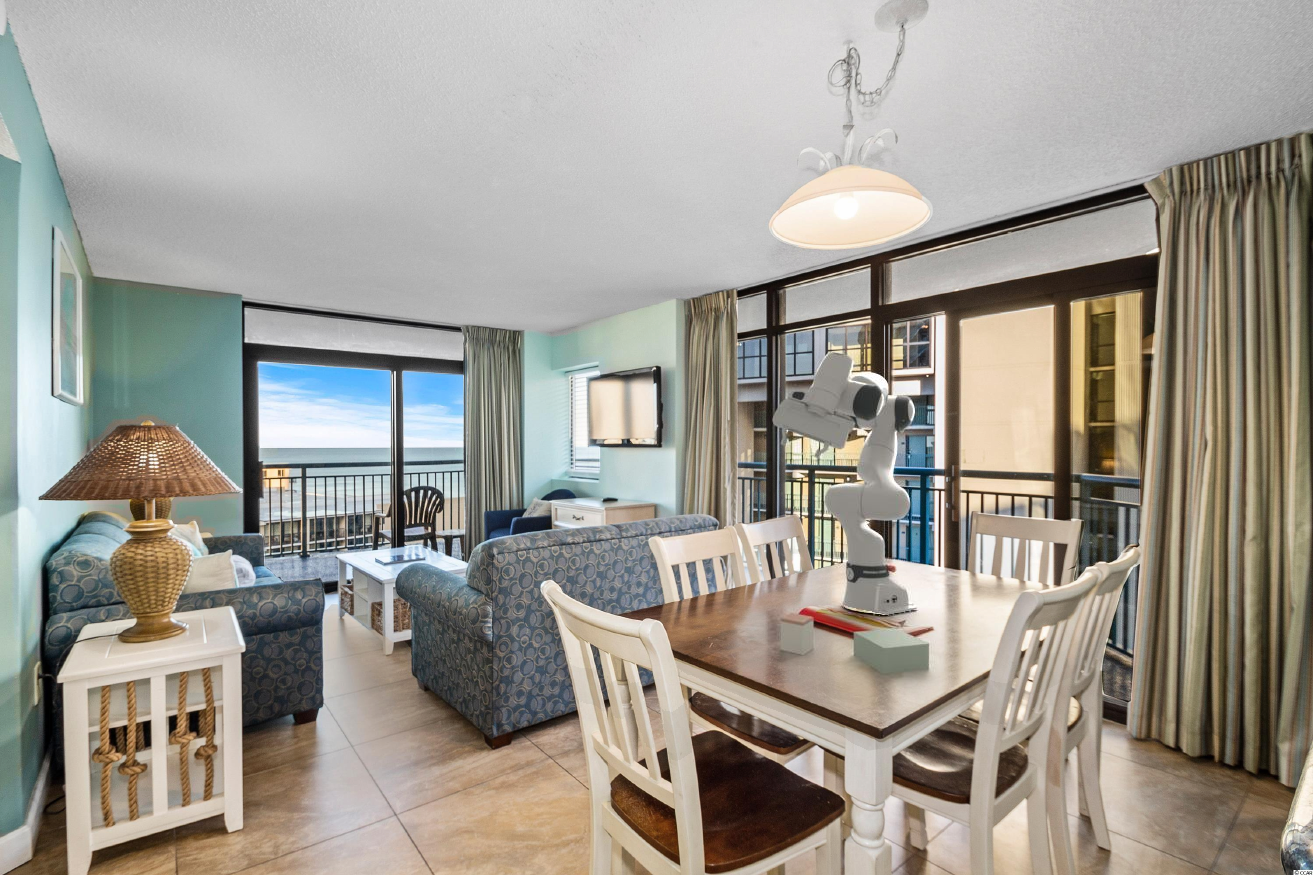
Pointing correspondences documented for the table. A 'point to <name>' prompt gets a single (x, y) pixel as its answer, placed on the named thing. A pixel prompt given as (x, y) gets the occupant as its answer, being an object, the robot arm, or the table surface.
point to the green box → (891, 650)
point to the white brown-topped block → (797, 633)
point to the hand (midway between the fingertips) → (800, 450)
